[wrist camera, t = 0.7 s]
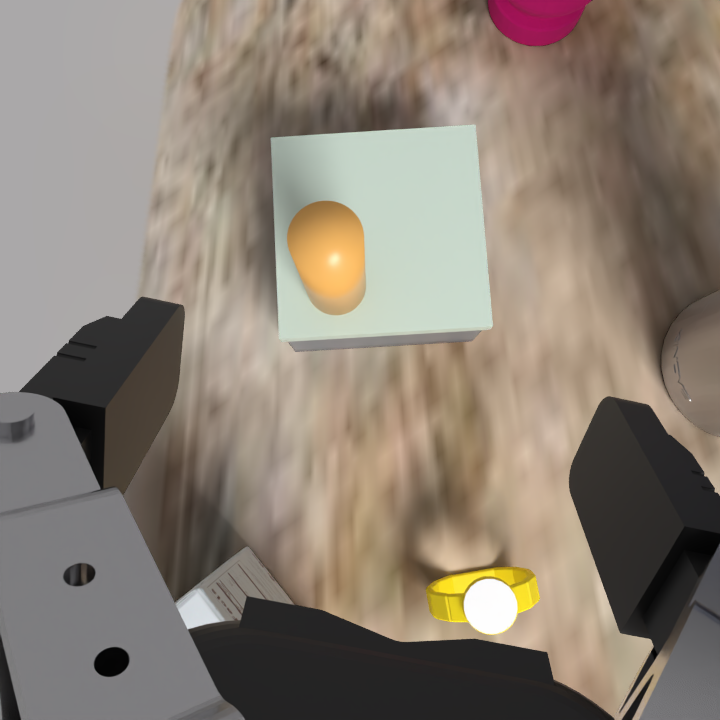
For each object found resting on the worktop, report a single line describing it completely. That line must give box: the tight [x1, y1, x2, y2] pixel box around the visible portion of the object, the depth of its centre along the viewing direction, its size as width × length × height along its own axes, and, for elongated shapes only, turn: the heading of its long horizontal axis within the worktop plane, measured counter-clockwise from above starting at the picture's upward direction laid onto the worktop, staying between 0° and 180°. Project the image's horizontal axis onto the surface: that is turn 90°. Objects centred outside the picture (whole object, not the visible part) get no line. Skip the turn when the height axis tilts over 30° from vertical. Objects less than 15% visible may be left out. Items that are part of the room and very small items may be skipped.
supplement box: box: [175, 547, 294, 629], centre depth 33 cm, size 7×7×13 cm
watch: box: [426, 567, 540, 635], centre depth 36 cm, size 6×3×6 cm, turn 100°
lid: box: [271, 125, 493, 342], centre depth 32 cm, size 11×11×10 cm
